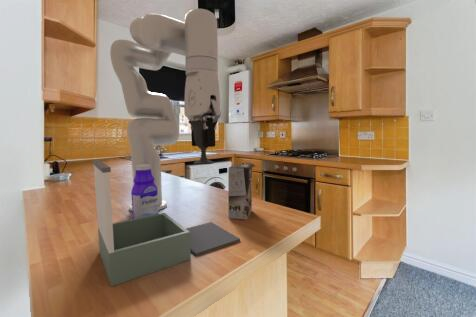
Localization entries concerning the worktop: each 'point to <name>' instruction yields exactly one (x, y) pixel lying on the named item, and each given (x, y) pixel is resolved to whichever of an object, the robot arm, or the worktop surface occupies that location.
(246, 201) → the coffee box
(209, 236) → the mat
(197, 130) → the sundae
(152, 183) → the bottle
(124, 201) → the worktop surface
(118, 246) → the open box
